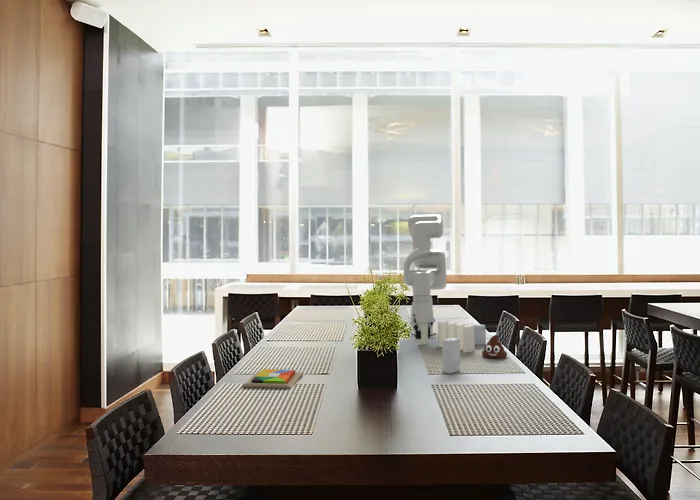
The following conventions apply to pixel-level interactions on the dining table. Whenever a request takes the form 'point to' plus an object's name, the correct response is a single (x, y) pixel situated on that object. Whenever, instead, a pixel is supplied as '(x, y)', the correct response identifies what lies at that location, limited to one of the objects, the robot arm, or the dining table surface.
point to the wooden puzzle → (273, 379)
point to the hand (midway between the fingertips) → (422, 337)
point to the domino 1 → (423, 334)
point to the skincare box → (451, 355)
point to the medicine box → (479, 334)
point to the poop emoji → (494, 349)
